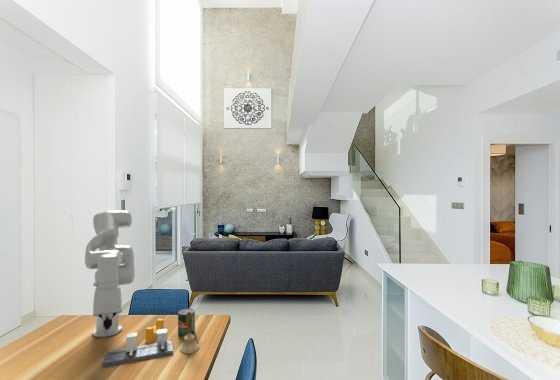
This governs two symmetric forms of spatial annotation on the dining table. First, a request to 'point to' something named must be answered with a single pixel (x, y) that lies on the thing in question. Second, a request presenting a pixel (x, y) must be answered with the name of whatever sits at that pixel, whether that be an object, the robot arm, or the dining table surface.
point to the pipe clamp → (153, 331)
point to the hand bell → (189, 338)
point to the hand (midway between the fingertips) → (107, 328)
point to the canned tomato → (182, 322)
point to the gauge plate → (140, 351)
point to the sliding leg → (131, 342)
